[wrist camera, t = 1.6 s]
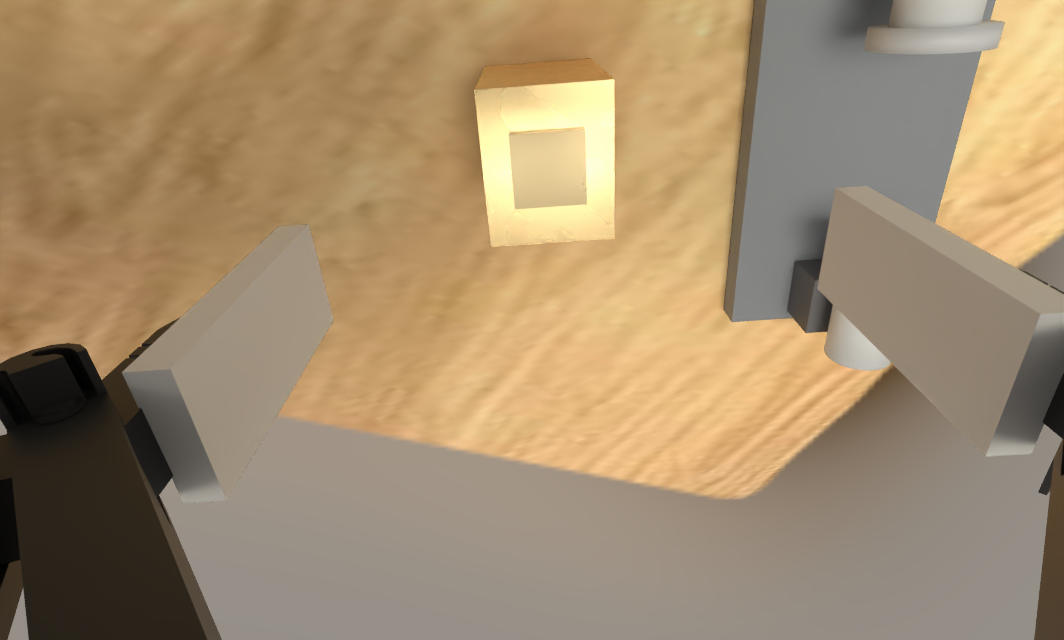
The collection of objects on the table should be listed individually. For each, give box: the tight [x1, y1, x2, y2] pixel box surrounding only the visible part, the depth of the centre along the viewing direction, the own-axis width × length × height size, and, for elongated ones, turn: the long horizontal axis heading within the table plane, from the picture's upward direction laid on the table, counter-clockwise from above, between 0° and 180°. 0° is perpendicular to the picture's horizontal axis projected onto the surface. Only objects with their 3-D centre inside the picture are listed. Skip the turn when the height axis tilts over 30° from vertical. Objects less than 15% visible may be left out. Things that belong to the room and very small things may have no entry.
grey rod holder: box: [724, 0, 1005, 371], centre depth 26 cm, size 10×20×8 cm, turn 4°
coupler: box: [474, 58, 614, 247], centre depth 26 cm, size 5×6×8 cm
